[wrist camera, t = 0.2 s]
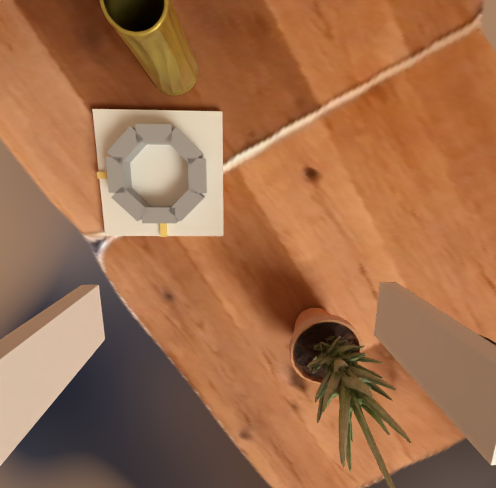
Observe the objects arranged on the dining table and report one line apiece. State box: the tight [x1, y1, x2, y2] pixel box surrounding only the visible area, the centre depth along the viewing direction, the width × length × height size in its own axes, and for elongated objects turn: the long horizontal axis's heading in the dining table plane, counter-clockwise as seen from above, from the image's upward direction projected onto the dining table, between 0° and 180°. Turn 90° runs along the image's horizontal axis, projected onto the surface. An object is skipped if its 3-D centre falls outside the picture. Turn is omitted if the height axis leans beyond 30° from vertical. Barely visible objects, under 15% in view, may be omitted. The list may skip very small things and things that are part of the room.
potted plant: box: [289, 308, 412, 488], centre depth 32 cm, size 10×10×25 cm
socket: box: [92, 109, 224, 237], centre depth 36 cm, size 16×16×4 cm
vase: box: [99, 0, 198, 96], centre depth 29 cm, size 6×6×14 cm
